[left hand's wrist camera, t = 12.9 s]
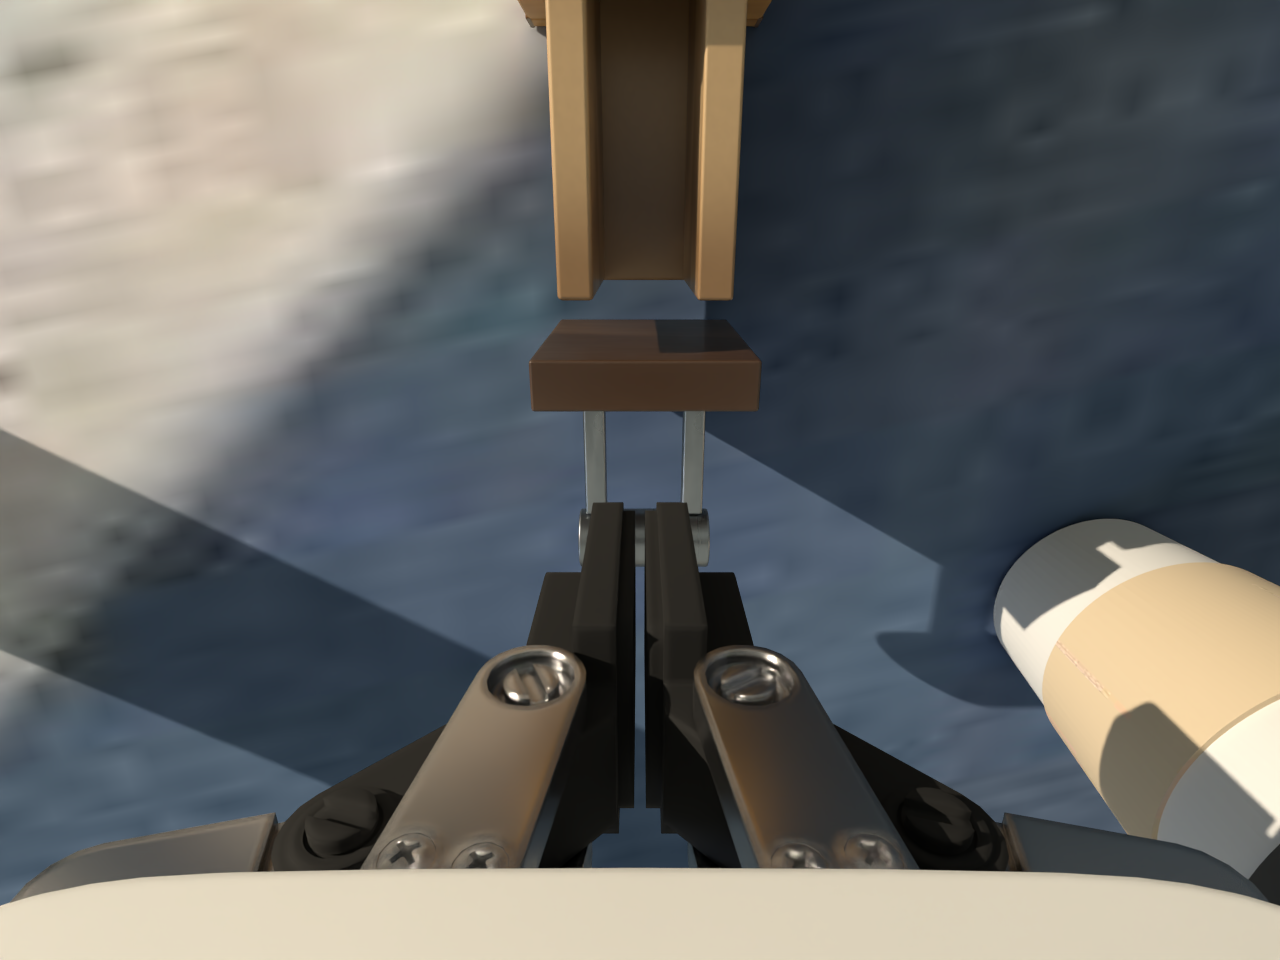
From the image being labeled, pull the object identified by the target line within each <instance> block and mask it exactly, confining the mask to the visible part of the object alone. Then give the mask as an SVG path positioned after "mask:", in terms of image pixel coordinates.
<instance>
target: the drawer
mask: <svg viewBox="0 0 1280 960" xmlns="http://www.w3.org/2000/svg"><path fill="white" fill-rule="evenodd" d="M545 8H546V31H547V55H548V79H549V103H550V127H551V150H552V174H553V198H554V222H555V245H556V269H557V293H558V298H559V299H561V300H591V299H593V297H594V295H595V294H596V292H597V290H598V289H599V287H600V285H601V283H602V282H603V280H685V282H686V283H687V284H688V286H689V287H690V289H691V290H692V291H693V293H694V294H695V296H696V297H697V298H698V300H732V299H733V292H734V271H735V251H736V230H737V209H738V188H739V167H740V146H741V125H742V105H743V84H744V63H745V42H746V21H747V0H545ZM761 366H762V362H761V360H760V359H759V358H758V357H757V356H756V354H755V353H754V352H753V351H752V350H751V349H750V347H749V346H748V345H747V344H746V343H745V341H744V340H743V339H742V338H741V337H740V336H739V334H738V333H737V332H736V331H735V330H734V329H733V327H732V326H731V325H730V324H729V323H728V321H727V320H561V321H560V322H559V324H558V325H557V326H556V327H555V329H554V330H553V331H552V333H551V334H550V335H549V336H548V338H547V339H546V340H545V342H544V343H543V344H542V346H541V347H540V348H539V349H538V351H537V352H536V353H535V355H534V356H533V357H532V358H531V360H530V361H529V374H530V391H531V408H532V410H533V411H583V425H584V457H585V490H586V509H581V511H580V517H579V561H580V565H581V566H582V565H583V559H584V553H585V547H586V541H587V535H588V529H589V523H590V517H591V511H592V505H593V502H607V463H606V411H683V427H682V469H681V502H687V505H688V511H689V517H690V523H691V529H692V535H693V541H694V547H695V553H696V559H697V565H698V567H706V566H707V565H708V561H709V549H710V531H709V516H708V511H707V509H702V496H703V468H704V440H705V412H706V411H758V409H759V397H760V382H761ZM624 510H635V567H645V510H656V509H624Z"/></svg>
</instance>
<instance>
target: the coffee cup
mask: <svg viewBox="0 0 1280 960" xmlns="http://www.w3.org/2000/svg"><path fill="white" fill-rule="evenodd" d="M994 626H995V630H996V634H997V636H998V639H999V641H1000V642H1001V644H1002V646H1003V647H1004V649H1005V650H1006V651H1007V653H1008V654H1009V656H1010V657H1011V659H1012V660H1013V662H1014V663H1015V664H1016V666H1017V667H1018V669H1019V670H1020V672H1021V673H1022V674H1023V676H1024V677H1025V679H1026V680H1027V682H1028V683H1029V684H1030V686H1031V687H1032V689H1033V690H1034V692H1035V693H1036V694H1037V696H1038V697H1039V699H1040V700H1041V702H1042V703H1043V704H1044V707H1045V710H1046V713H1047V716H1048V718H1049V720H1050V722H1051V723H1052V725H1053V727H1054V728H1055V729H1056V731H1057V732H1058V734H1059V735H1060V737H1061V738H1062V740H1063V741H1064V743H1065V744H1066V745H1067V747H1068V748H1069V750H1070V751H1071V753H1072V754H1073V756H1074V757H1075V758H1076V760H1077V761H1078V763H1079V764H1080V766H1081V767H1082V769H1083V770H1084V772H1085V773H1086V774H1087V776H1088V777H1089V779H1090V780H1091V782H1092V783H1093V785H1094V786H1095V788H1096V789H1097V790H1098V792H1099V793H1100V795H1101V796H1102V798H1103V799H1104V801H1105V802H1106V803H1107V805H1108V806H1109V808H1110V809H1111V811H1112V812H1113V814H1114V815H1115V817H1116V818H1117V819H1118V821H1119V822H1120V824H1121V825H1122V827H1123V828H1124V830H1125V831H1126V833H1127V834H1128V835H1133V836H1138V837H1144V838H1149V839H1155V840H1161V841H1166V842H1172V843H1177V844H1180V845H1183V846H1187V847H1190V848H1193V849H1197V850H1200V851H1203V852H1205V853H1207V854H1209V855H1211V856H1212V857H1214V858H1216V859H1218V860H1220V861H1222V862H1224V863H1226V864H1228V865H1230V866H1231V867H1232V868H1234V869H1235V870H1236V871H1238V872H1239V873H1240V874H1241V875H1243V876H1244V877H1245V878H1247V879H1248V880H1249V881H1251V882H1252V883H1253V884H1254V885H1255V886H1256V887H1257V888H1258V889H1259V890H1260V892H1261V893H1262V894H1263V895H1264V896H1265V897H1266V898H1267V900H1268V901H1269V902H1270V903H1272V904H1275V905H1279V906H1280V586H1278V585H1276V584H1274V583H1272V582H1269V581H1267V580H1265V579H1263V578H1261V577H1259V576H1257V575H1255V574H1253V573H1251V572H1248V571H1246V570H1244V569H1241V568H1238V567H1234V566H1231V565H1226V564H1221V563H1219V562H1217V561H1215V560H1213V559H1210V558H1208V557H1206V556H1204V555H1202V554H1200V553H1198V552H1196V551H1194V550H1192V549H1190V548H1188V547H1186V546H1184V545H1182V544H1180V543H1178V542H1176V541H1174V540H1172V539H1170V538H1168V537H1166V536H1164V535H1162V534H1160V533H1157V532H1155V531H1153V530H1151V529H1149V528H1147V527H1145V526H1143V525H1141V524H1138V523H1135V522H1131V521H1127V520H1121V519H1097V520H1090V521H1085V522H1080V523H1077V524H1073V525H1070V526H1068V527H1065V528H1063V529H1060V530H1058V531H1056V532H1054V533H1052V534H1050V535H1048V536H1047V537H1045V538H1043V539H1042V540H1040V541H1039V542H1037V543H1036V544H1035V545H1033V546H1032V547H1031V548H1030V549H1028V550H1027V551H1026V552H1025V553H1024V554H1023V555H1022V556H1021V557H1020V558H1019V559H1018V560H1017V561H1016V562H1015V564H1014V565H1013V566H1012V567H1011V569H1010V570H1009V571H1008V573H1007V575H1006V576H1005V578H1004V580H1003V581H1002V583H1001V586H1000V588H999V590H998V593H997V596H996V600H995V605H994Z"/></svg>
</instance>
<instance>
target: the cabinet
mask: <svg viewBox="0 0 1280 960" xmlns="http://www.w3.org/2000/svg"><path fill="white" fill-rule="evenodd" d="M771 1H772V0H747V21H746V26H754V27H758V26H759V24H760V22H761V21H762V19H763V14H764V13H765V11H766V9H767V8H768V6H769V4H770V3H771ZM518 2H519V3H520V5H521V7H522V9H523V10H524V12H525V14H526V19H527V21H528V23H529V25H530V26H531V27H535V26H546V8H545V0H518Z"/></svg>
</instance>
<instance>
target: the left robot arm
mask: <svg viewBox="0 0 1280 960" xmlns="http://www.w3.org/2000/svg"><path fill="white" fill-rule="evenodd" d="M635 656H636V628H635V510H624V508H623V502H593V505H592V511H591V517H590V523H589V529H588V535H587V541H586V547H585V553H584V559H583V565H582V571H581V572H547V573H546V575H545V577H544V581H543V585H542V589H541V592H540V596H539V600H538V604H537V607H536V611H535V615H534V619H533V622H532V626H531V630H530V634H529V637H528V641H527V645H526V646H522V647H517V648H513V649H510V650H508V651H505V652H503V653H500V654H498V655H497V656H495V657H494V658H492V659H491V660H489V661H487V662H486V663H485V665H484V666H483V667H482V668H481V669H480V670H479V672H478V673H477V675H476V676H475V678H474V680H473V681H472V683H471V685H470V686H469V688H468V690H467V691H466V693H465V695H464V696H463V698H462V700H461V701H460V703H459V705H458V706H457V708H456V710H455V711H454V713H453V715H452V716H451V718H450V720H449V721H448V723H447V724H446V725H444V726H442V727H440V728H438V729H437V730H435V731H433V732H431V733H429V734H427V735H426V736H424V737H422V738H420V739H418V740H416V741H415V742H413V743H411V744H409V745H407V746H406V747H404V748H402V749H400V750H398V751H396V752H395V753H393V754H391V755H389V756H387V757H385V758H384V759H382V760H380V761H378V762H376V763H374V764H373V765H371V766H369V767H367V768H365V769H364V770H362V771H360V772H358V773H356V774H354V775H353V776H351V777H349V778H347V779H345V780H343V781H342V782H340V783H338V784H336V785H334V786H332V787H331V788H329V789H327V790H325V791H323V792H322V793H320V794H318V795H317V796H315V797H314V798H312V799H311V800H309V801H308V802H306V803H305V804H303V805H302V806H300V807H299V808H298V809H297V810H296V811H295V812H294V813H293V814H292V815H291V816H290V817H289V818H288V819H287V820H286V821H285V822H282V823H278V821H277V817H276V813H269V814H264V815H258V816H253V817H247V818H242V819H236V820H231V821H225V822H219V823H214V824H208V825H203V826H197V827H192V828H186V829H181V830H175V831H169V832H164V833H158V834H153V835H147V836H142V837H136V838H131V839H125V840H119V841H114V842H108V843H103V844H100V845H97V846H93V847H90V848H87V849H83V850H80V851H77V852H75V853H73V854H71V855H69V856H68V857H66V858H64V859H62V860H60V861H58V862H56V863H54V864H52V865H50V866H49V867H48V868H46V869H45V870H44V871H42V872H41V873H40V874H39V875H37V876H36V877H35V878H33V879H32V880H31V881H29V882H28V883H27V884H26V885H25V886H24V887H23V888H22V889H21V890H20V892H19V893H18V894H17V895H16V896H15V897H14V898H13V900H12V901H11V902H10V903H8V904H5V905H1V906H0V960H1280V906H1279V905H1275V904H1272V903H1270V902H1269V901H1268V900H1267V898H1266V897H1265V896H1264V895H1263V894H1262V893H1261V892H1260V890H1259V889H1258V888H1257V887H1256V886H1255V885H1254V884H1253V883H1252V882H1251V881H1249V880H1248V879H1247V878H1245V877H1244V876H1243V875H1241V874H1240V873H1239V872H1238V871H1236V870H1235V869H1234V868H1232V867H1231V866H1230V865H1228V864H1226V863H1224V862H1222V861H1220V860H1218V859H1216V858H1214V857H1212V856H1211V855H1209V854H1207V853H1205V852H1203V851H1200V850H1197V849H1193V848H1190V847H1187V846H1183V845H1180V844H1177V843H1172V842H1166V841H1161V840H1155V839H1149V838H1144V837H1138V836H1133V835H1127V834H1122V833H1116V832H1111V831H1105V830H1099V829H1094V828H1088V827H1083V826H1077V825H1072V824H1066V823H1061V822H1055V821H1049V820H1044V819H1038V818H1033V817H1027V816H1022V815H1016V814H1011V813H1004V817H1003V821H1002V823H998V822H995V821H994V820H993V819H992V818H991V817H990V816H989V815H988V814H987V813H986V812H985V811H984V810H983V809H982V808H981V807H980V806H978V805H977V804H975V803H974V802H972V801H971V800H969V799H968V798H966V797H965V796H963V795H962V794H960V793H958V792H957V791H955V790H953V789H951V788H949V787H948V786H946V785H944V784H942V783H940V782H938V781H937V780H935V779H933V778H931V777H929V776H927V775H926V774H924V773H922V772H920V771H918V770H916V769H915V768H913V767H911V766H909V765H907V764H906V763H904V762H902V761H900V760H898V759H896V758H895V757H893V756H891V755H889V754H887V753H885V752H884V751H882V750H880V749H878V748H876V747H874V746H873V745H871V744H869V743H867V742H865V741H864V740H862V739H860V738H858V737H856V736H854V735H853V734H851V733H849V732H847V731H845V730H843V729H842V728H840V727H838V726H836V725H834V724H833V723H832V721H831V720H830V718H829V716H828V715H827V713H826V711H825V710H824V708H823V706H822V705H821V703H820V701H819V700H818V698H817V696H816V695H815V693H814V691H813V690H812V688H811V686H810V685H809V683H808V681H807V680H806V678H805V676H804V675H803V673H802V672H801V670H800V669H799V668H798V667H797V666H796V665H795V663H794V662H793V661H791V660H789V659H788V658H786V657H785V656H783V655H782V654H780V653H777V652H775V651H772V650H770V649H767V648H763V647H758V646H754V645H753V641H752V637H751V634H750V630H749V626H748V622H747V619H746V615H745V611H744V607H743V604H742V600H741V596H740V592H739V589H738V585H737V581H736V577H735V575H734V573H733V572H699V571H698V565H697V559H696V553H695V547H694V541H693V535H692V529H691V523H690V517H689V511H688V505H687V502H657V508H656V510H645V628H644V656H645V755H646V808H660V810H661V833H677V834H679V835H680V836H681V837H682V838H684V839H685V840H686V841H687V842H688V866H689V868H591V866H592V842H593V841H594V840H595V839H596V838H598V837H599V836H600V835H601V834H603V833H619V810H620V808H634V755H635Z"/></svg>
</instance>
